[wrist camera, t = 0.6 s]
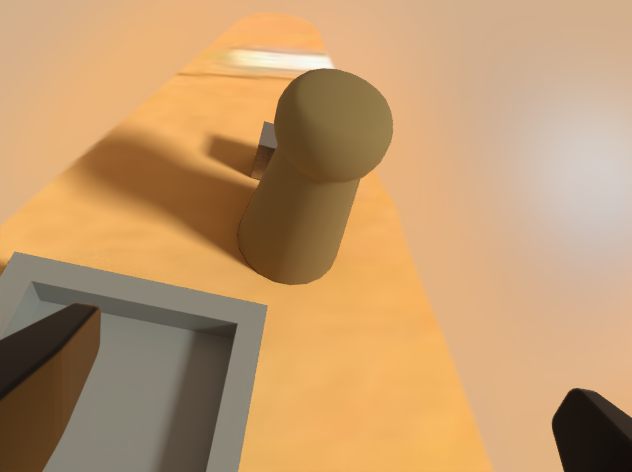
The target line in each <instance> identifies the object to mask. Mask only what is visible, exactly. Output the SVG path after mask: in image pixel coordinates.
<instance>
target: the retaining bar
mask: <svg viewBox="0 0 632 472" xmlns="http://www.w3.org/2000/svg"><path fill="white" fill-rule="evenodd" d="M277 145H278V144H277V140H276V136H275V130H274V124H272V123H268V122H265V121H264V125H263V129H262V133H261V137H260V141H259V145H258V150H257V154H256V158H255V162H254V167H253V171H252V175H251V178H255V179H259V180H261V178H262V176H263V174H264V172H265V170H266V168H267V166H268V164H269V162H270V160H271V158H272V156H273V154H274V152H275V150H276V147H277Z"/></svg>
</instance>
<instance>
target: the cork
mask: <svg viewBox="0 0 632 472" xmlns="http://www.w3.org/2000/svg"><path fill="white" fill-rule="evenodd" d="M274 130H275V136H276V140H277V144H278V145H277V147H276V150H275V152H274V154H273V156H272V158H271V160H270V162H269V164H268V166H267V168H266V170H265V172H264V174H263V176H262V178H261V180H260V182H259V185H258V187H257V189H256V191H255V193H254V195H253V197H252V199H251V201H250V203H249V205H248V207H247V209H246V211H245V213H244V215H243V217H242V220H241V222H240V225H239V230H238V234H237V236H238V242H239V249H240V251H241V253H242V254H243V256H244V258H245V260H246V262H247V263H248V264H249V265H250V266H251V267H252V268H253V269H254V270H255V271H257V272H258V273H259V274H260V275H262V276H264V277H266V278H268V279H270V280H272V281H274V282H279V283H283V284H288V285H296V284H307V283H309V282H312V281H314V280H317V279H319V278H321V277H322V276H323V275H324V274H325V273H326V272H327V271H328V270H330V269H331V267H332V264H333V262H334V260H335V258H336V256H337V252H338V249H339V246H340V243H341V240H342V236H343V233H344V230H345V227H346V223H347V220H348V217H349V214H350V211H351V207H352V204H353V201H354V198H355V194H356V191H357V188H358V185H359V182H360V178H363V177H364V176H365V175H367V174H368V173H369V172H370V171H372V170H373V169H374V168H375V167H376V166H377V165H378V164H379V163H380V162H381V160H382V159H383V157H384V155H385V153H386V151H387V149H388V147H389V145H390V143H391V139H392V134H393V120H392V115H391V111H390V108H389V106H388V103H387V101H386V99H385V98H384V97H383V96H382V94H381V93H380V92H379V91H378V90H377V89H376V88H375V87H373V86H372V85H371V84H370V83H368V82H367V81H365V80H363V79H362V78H359V77H358V76H356V75H353V74H351V73H348V72H344V71H341V70H337V69H324V68H322V69H316V70H310V71H308V72H306V73H304V74H302V75H300V76H299V77H297V78H296V79H294V80H293V81H292V82H291V83H290V84H289V85H288V87H287V88H286V89H285V90H284V92H283V94H282V95H281V97H280V99H279V101H278V105H277V110H276V115H275V120H274Z"/></svg>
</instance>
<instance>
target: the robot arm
mask: <svg viewBox="0 0 632 472" xmlns="http://www.w3.org/2000/svg"><path fill="white" fill-rule="evenodd" d="M100 330H101V311H100V308H99V307H98V306H95V305H90V304H84V303H73V304H71V305H69V306H67V307H65V308H63V309H61V310H59V311H57V312H55V313H53V314H51V315H49V316H47V317H45V318H43V319H41V320H39V321H37V322H35V323H33V324H31V325H29V326H27V327H25V328H23V329H21V330H19V331H17V332H15V333H13V334H11V335H9V336H7V337H5V338H3V339H1V340H0V472H43V470H44V468H45V466H46V464H47V463H48V461H49V459H50V457H51V456H52V454H53V452H54V450H55V449H56V447H57V445H58V443H59V441H60V439H61V437H62V436H63V433H64V431H65V429H66V427H67V425H68V422H69V420H70V418H71V415H72V413H73V411H74V408H75V406H76V404H77V401H78V399H79V397H80V394H81V392H82V390H83V387H84V385H85V383H86V380H87V378H88V376H89V373H90V371H91V369H92V366H93V364H94V362H95V359H96V357H97V354H98V351H99V347H100ZM552 430H553V434H554V437H555V441H556V445H557V448H558V452H559V455H560V459H561V463H562V466H563V470H564V472H632V418H631V417H630V416H628V415H627V414H625V413H624V412H623V411H621V410H620V409H619V408H617V407H616V406H615V405H613V404H612V403H611V402H609V401H608V400H606V399H605V398H604V397H602V396H601V395H600V394H598V393H597V392H594V391H591V390H586V389H580V388H574V389H572V390H570V391H569V392H568V394H567V395H566V397H565V398H564V400H563V402H562V403H561V405H560V406H559V408H558V410H557V412H556V413H555V415H554V417H553V419H552Z"/></svg>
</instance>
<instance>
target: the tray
mask: <svg viewBox="0 0 632 472" xmlns="http://www.w3.org/2000/svg"><path fill="white" fill-rule="evenodd" d="M73 303H84V304H90V305H95V306H98V307H99V308H100V311H101V330H100V347H99V351H98V354H97V357H96V359H95V362H94V364H93V366H92V369H91V371H90V373H89V376H88V378H87V380H86V383H85V385H84V387H83V390H82V392H81V394H80V397H79V399H78V401H77V404H76V406H75V408H74V411H73V413H72V415H71V418H70V420H69V422H68V425H67V427H66V429H65V431H64V433H63V436H62V437H61V439H60V441H59V443H58V445H57V447H56V449H55V450H54V452H53V454H52V456H51V457H50V459H49V461H48V463H47V464H46V466H45V468H44V470H43V472H238V469H239V463H240V457H241V452H242V446H243V441H244V435H245V429H246V424H247V418H248V412H249V407H250V401H251V396H252V390H253V384H254V379H255V373H256V367H257V362H258V356H259V351H260V345H261V339H262V334H263V328H264V322H265V317H266V311H267V306H268V305H263V304H258V303H254V302H249V301H244V300H240V299H235V298H230V297H225V296H221V295H216V294H211V293H207V292H202V291H197V290H193V289H188V288H183V287H178V286H174V285H169V284H164V283H160V282H155V281H150V280H146V279H141V278H136V277H132V276H127V275H122V274H117V273H113V272H108V271H103V270H99V269H94V268H89V267H85V266H80V265H75V264H71V263H66V262H61V261H56V260H52V259H47V258H42V257H38V256H33V255H28V254H24V253H19V252H14V254H13V255H12V257H11V259H10V261H9V262H8V264H7V266H6V268H5V269H4V271H3V273H2V275H1V276H0V340H1V339H3V338H5V337H7V336H9V335H11V334H13V333H15V332H17V331H19V330H21V329H23V328H25V327H27V326H29V325H31V324H33V323H35V322H37V321H39V320H41V319H43V318H45V317H47V316H49V315H51V314H53V313H55V312H57V311H59V310H61V309H63V308H65V307H67V306H69V305H71V304H73Z"/></svg>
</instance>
